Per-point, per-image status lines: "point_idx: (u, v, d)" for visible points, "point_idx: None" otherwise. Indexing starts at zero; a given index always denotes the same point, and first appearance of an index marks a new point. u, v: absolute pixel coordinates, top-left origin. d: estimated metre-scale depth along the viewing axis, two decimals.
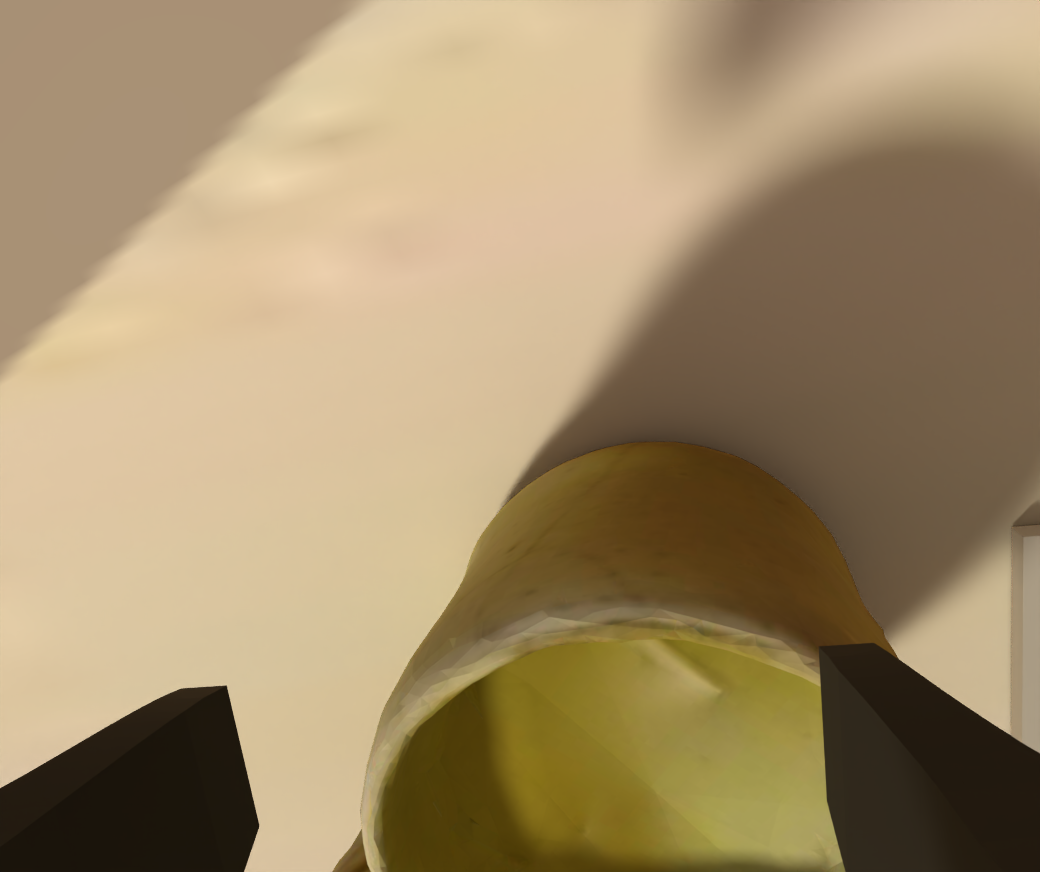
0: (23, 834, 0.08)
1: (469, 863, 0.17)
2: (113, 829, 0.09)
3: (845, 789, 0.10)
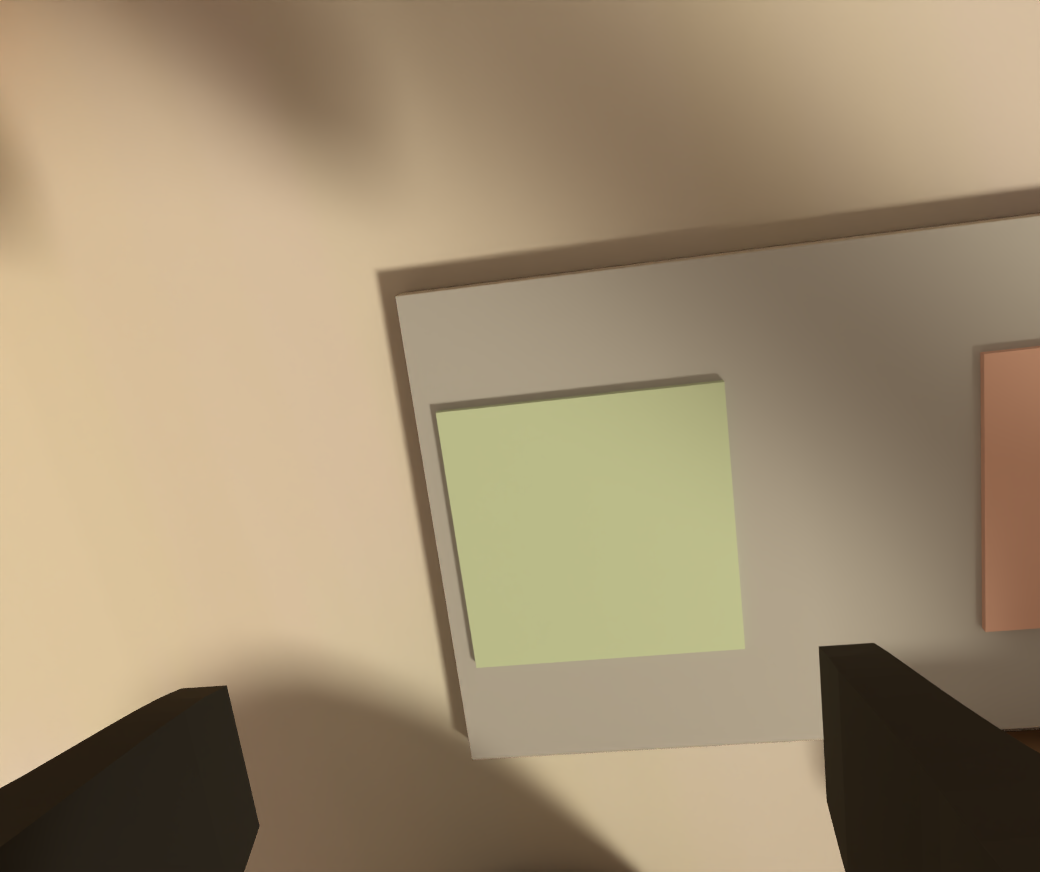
0: (23, 834, 0.08)
1: None
2: (113, 829, 0.09)
3: (845, 789, 0.10)
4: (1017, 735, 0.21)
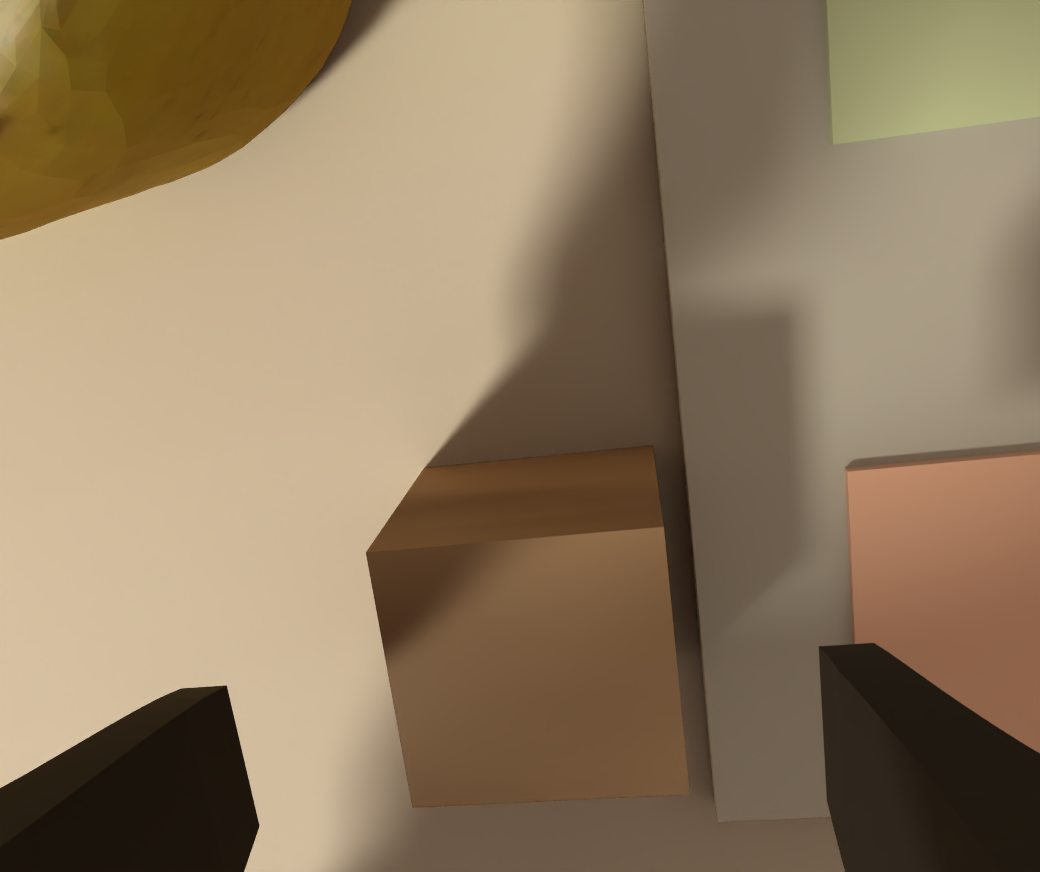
0: (23, 834, 0.08)
1: None
2: (113, 829, 0.09)
3: (845, 789, 0.10)
4: None
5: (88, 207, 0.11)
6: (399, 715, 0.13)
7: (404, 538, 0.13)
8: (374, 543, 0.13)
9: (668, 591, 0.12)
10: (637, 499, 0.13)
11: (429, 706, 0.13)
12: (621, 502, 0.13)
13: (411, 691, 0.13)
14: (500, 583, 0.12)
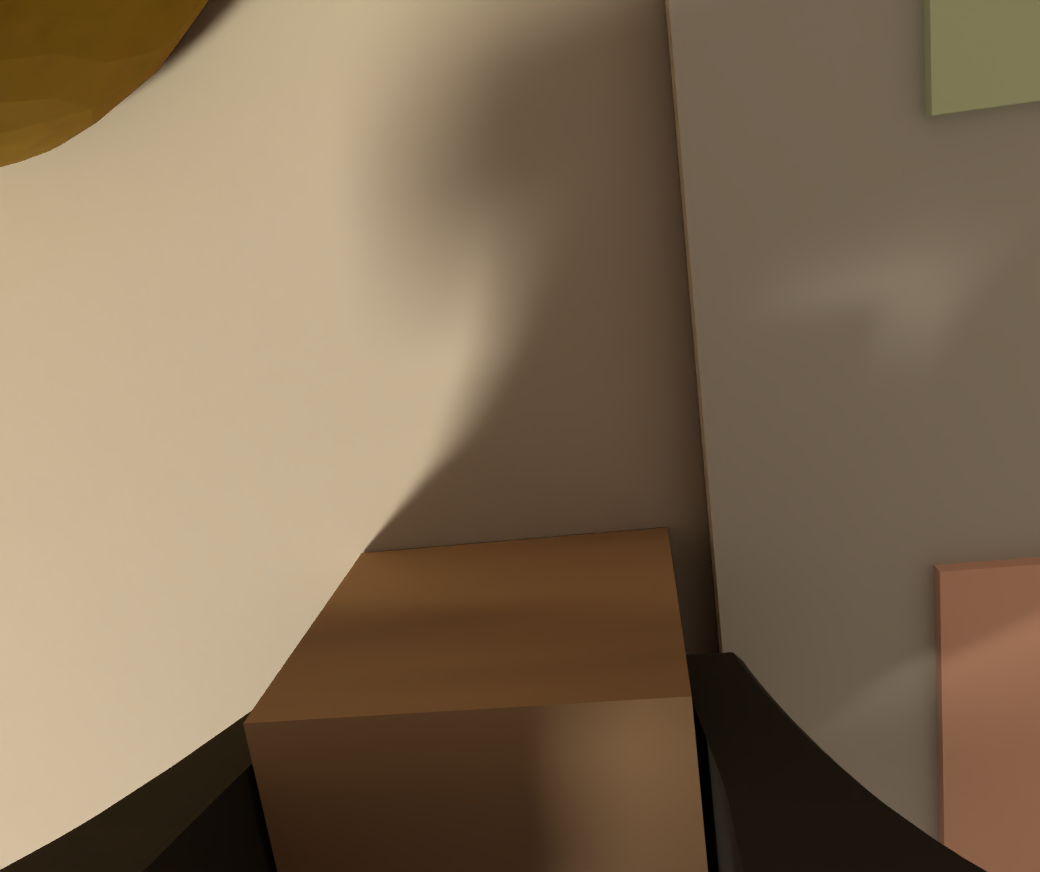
0: (191, 826, 0.08)
1: None
2: (262, 822, 0.09)
3: None
4: None
5: None
6: None
7: (305, 695, 0.09)
8: (260, 703, 0.09)
9: (698, 790, 0.08)
10: (648, 633, 0.09)
11: None
12: (626, 639, 0.09)
13: None
14: (444, 772, 0.08)
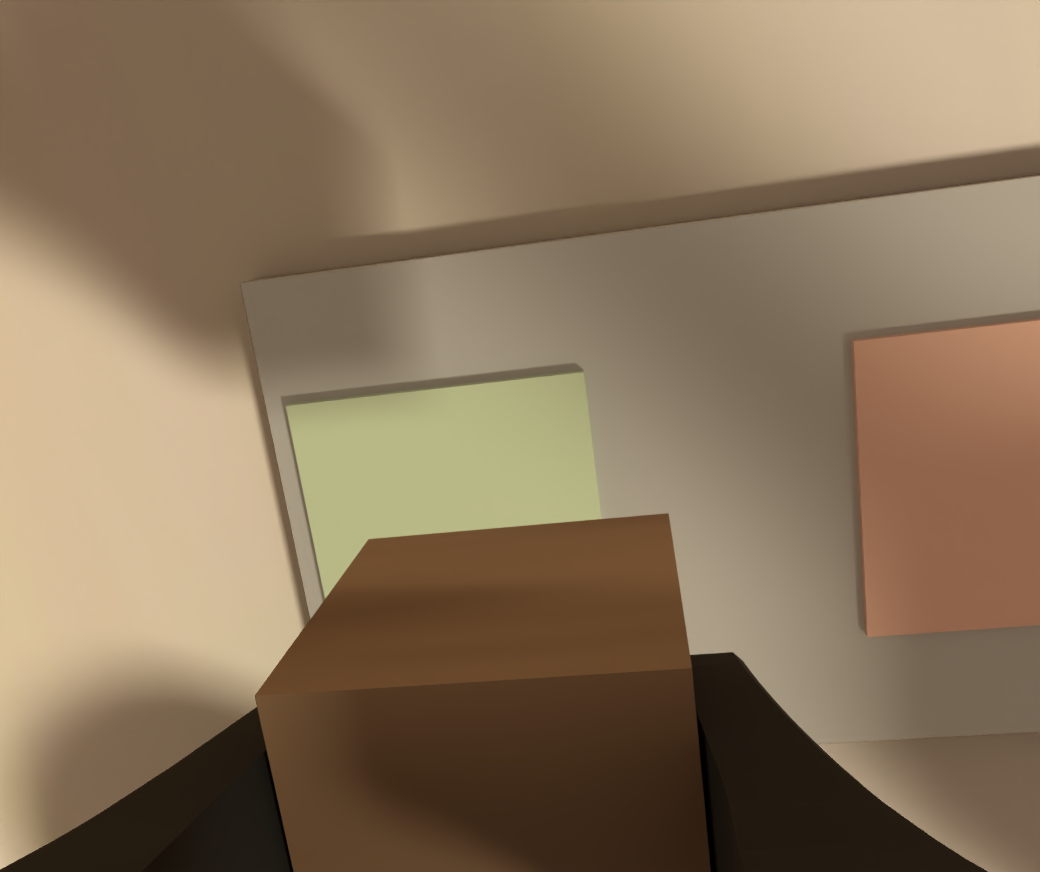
0: (190, 826, 0.08)
1: None
2: (262, 822, 0.09)
3: None
4: None
5: None
6: None
7: (314, 670, 0.09)
8: (272, 678, 0.09)
9: (698, 760, 0.08)
10: (650, 610, 0.09)
11: None
12: (628, 616, 0.09)
13: None
14: (451, 742, 0.08)
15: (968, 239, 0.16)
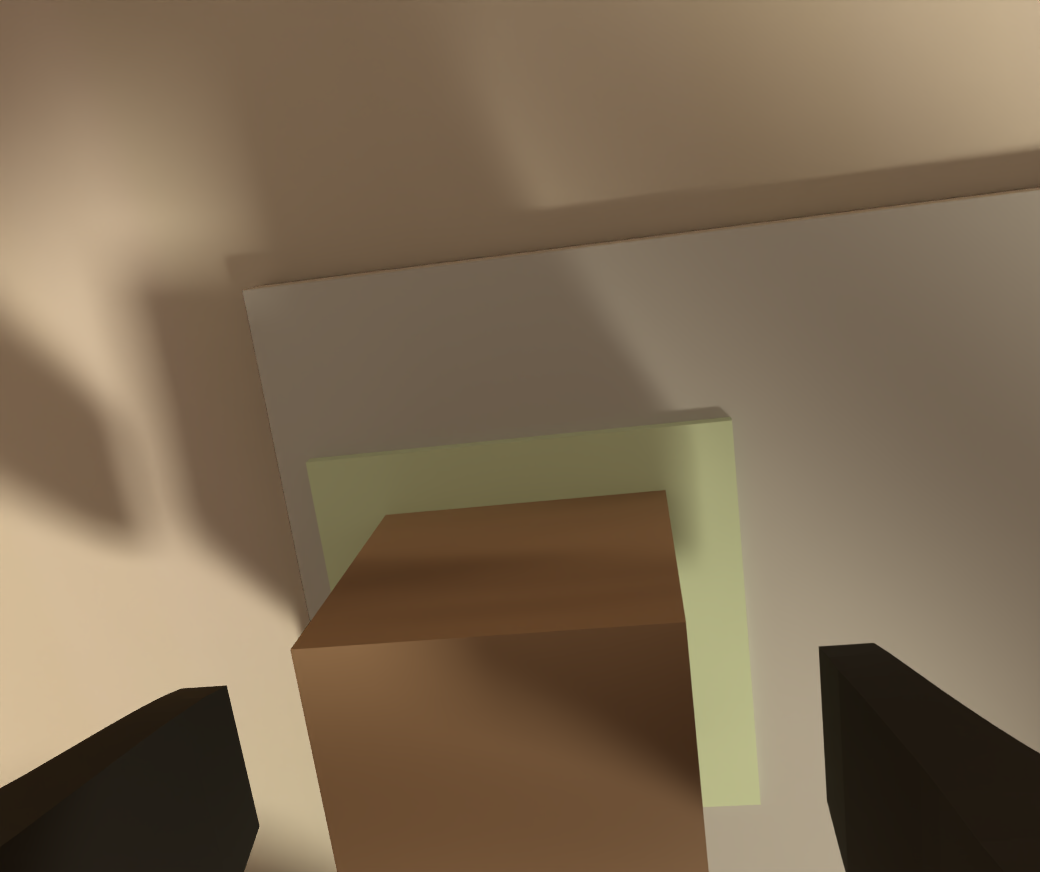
0: (23, 834, 0.08)
1: None
2: (113, 829, 0.09)
3: (845, 789, 0.10)
4: None
5: None
6: (338, 855, 0.10)
7: (343, 627, 0.10)
8: (305, 634, 0.10)
9: (691, 706, 0.09)
10: (648, 573, 0.10)
11: (376, 845, 0.10)
12: (627, 579, 0.10)
13: (353, 826, 0.10)
14: (469, 691, 0.09)
15: None
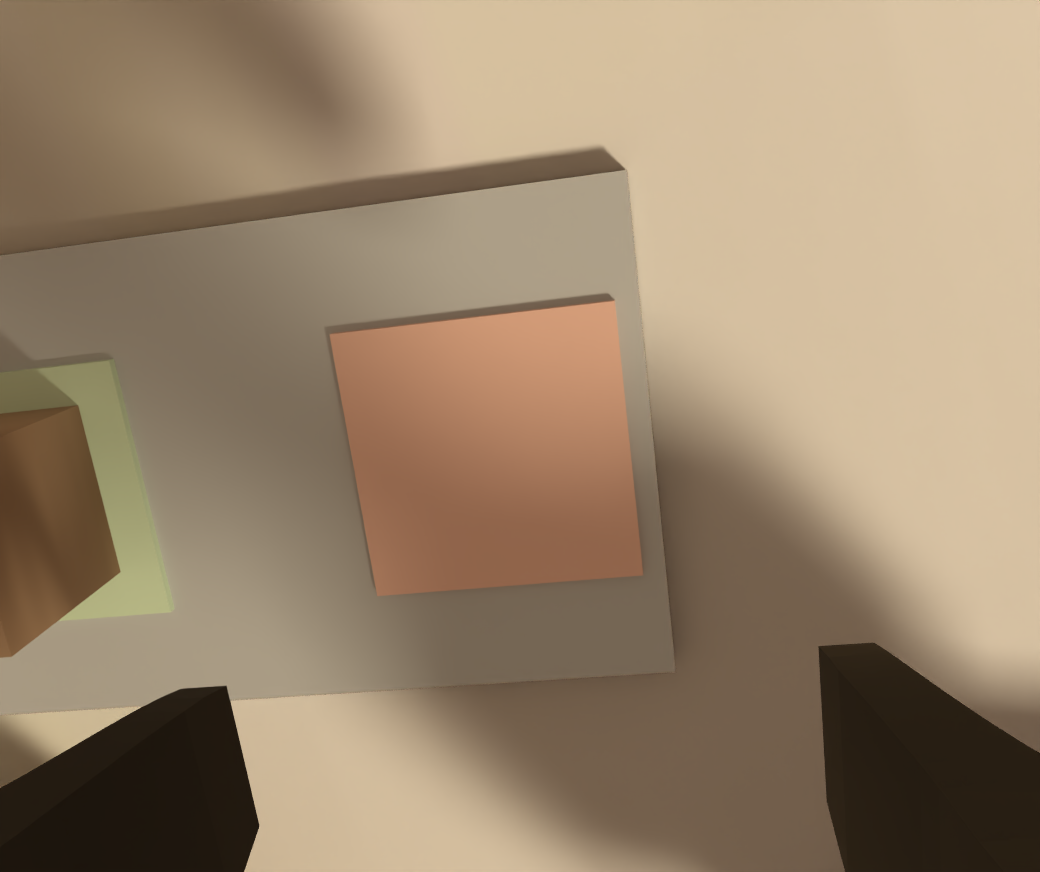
0: (23, 834, 0.08)
1: None
2: (112, 829, 0.09)
3: (845, 789, 0.10)
4: (87, 469, 0.20)
5: None
6: None
7: None
8: None
9: None
10: None
11: None
12: None
13: None
14: None
15: (417, 245, 0.19)
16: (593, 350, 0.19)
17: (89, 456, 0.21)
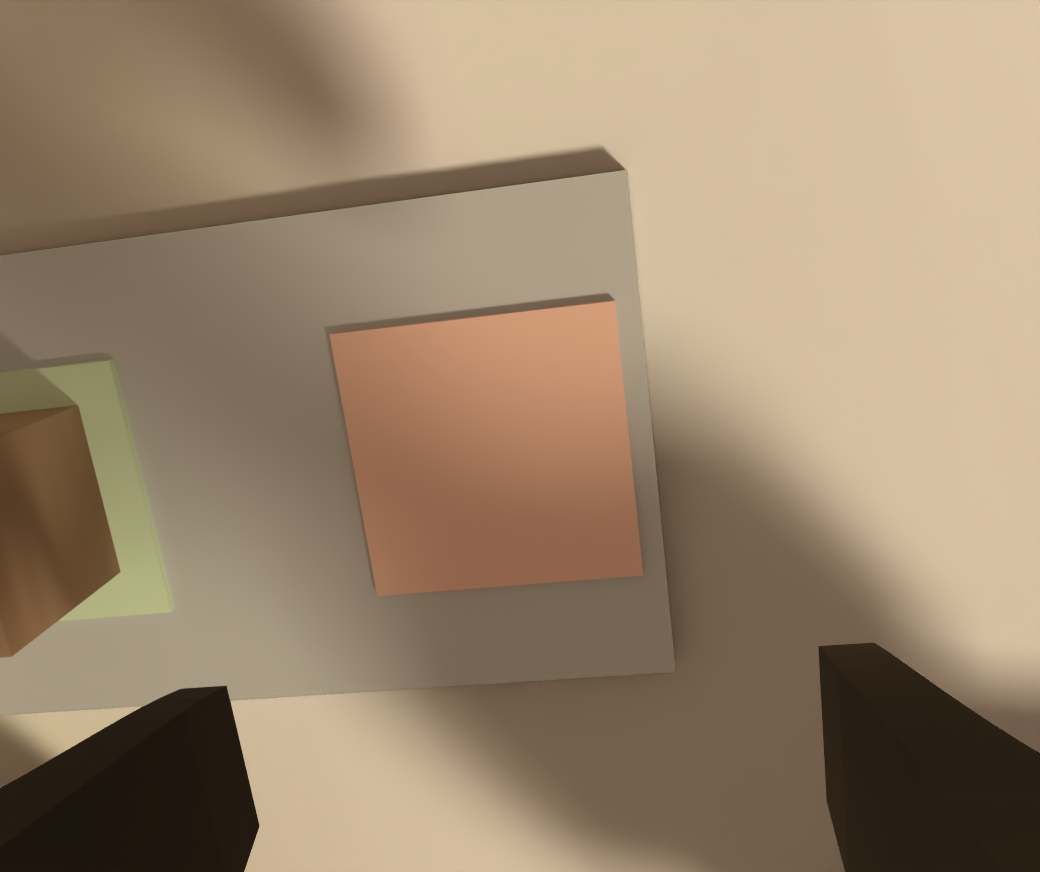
0: (23, 834, 0.08)
1: None
2: (112, 829, 0.09)
3: (845, 789, 0.10)
4: (87, 469, 0.20)
5: None
6: None
7: None
8: None
9: None
10: None
11: None
12: None
13: None
14: None
15: (417, 245, 0.19)
16: (593, 350, 0.19)
17: (89, 456, 0.21)
